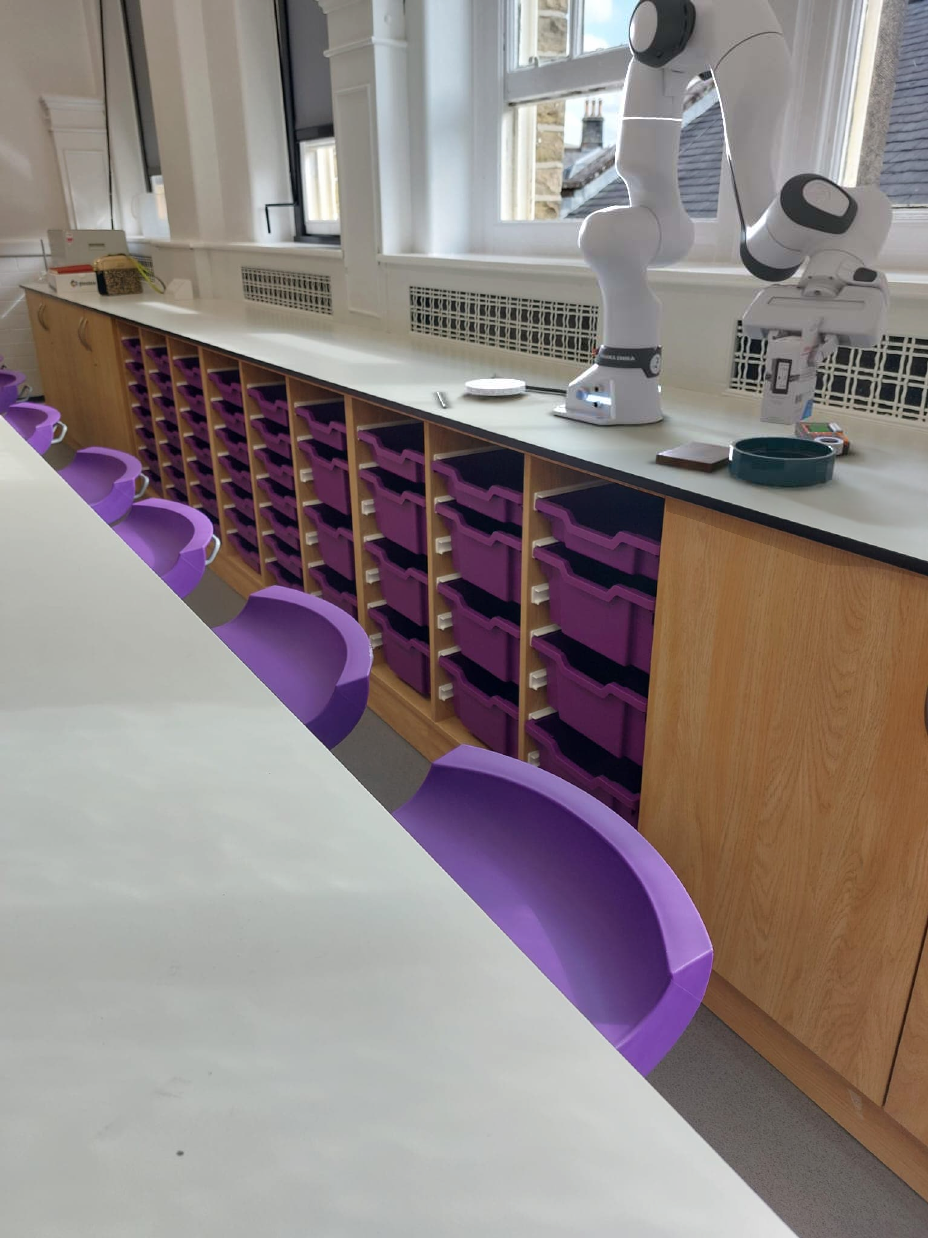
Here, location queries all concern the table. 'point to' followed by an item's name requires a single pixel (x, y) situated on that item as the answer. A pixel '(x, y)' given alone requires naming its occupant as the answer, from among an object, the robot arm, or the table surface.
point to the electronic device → (823, 435)
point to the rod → (441, 400)
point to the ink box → (790, 376)
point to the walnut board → (696, 457)
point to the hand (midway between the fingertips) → (791, 362)
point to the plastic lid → (495, 387)
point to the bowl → (782, 461)
